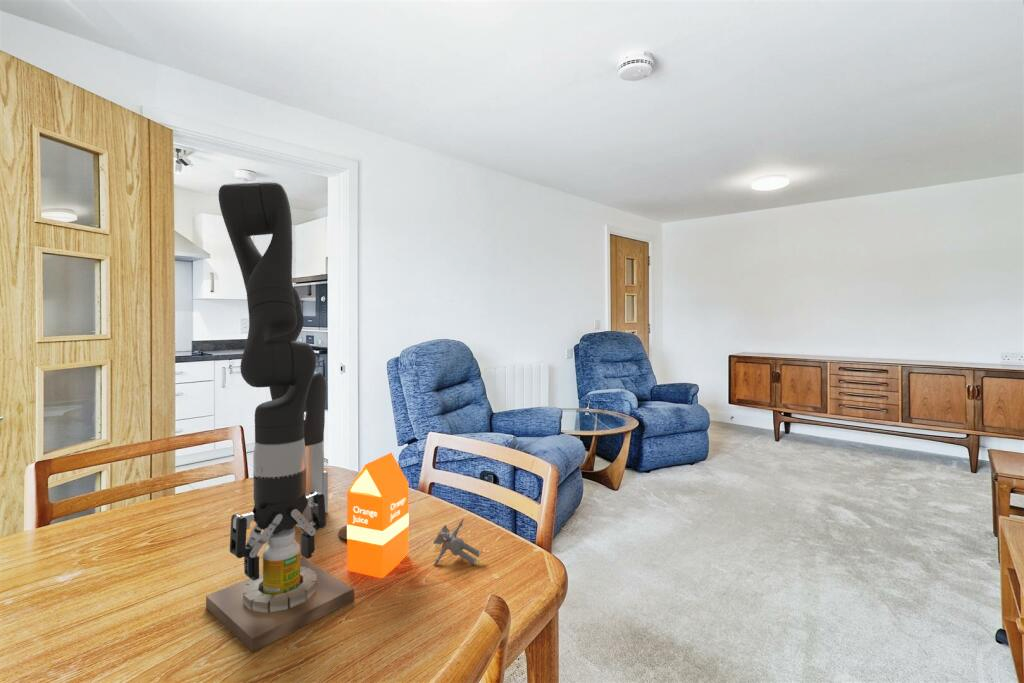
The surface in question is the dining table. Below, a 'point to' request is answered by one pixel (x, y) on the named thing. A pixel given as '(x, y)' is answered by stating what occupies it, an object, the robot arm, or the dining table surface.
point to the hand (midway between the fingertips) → (281, 567)
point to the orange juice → (377, 518)
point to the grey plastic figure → (454, 544)
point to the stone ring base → (277, 605)
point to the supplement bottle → (281, 563)
